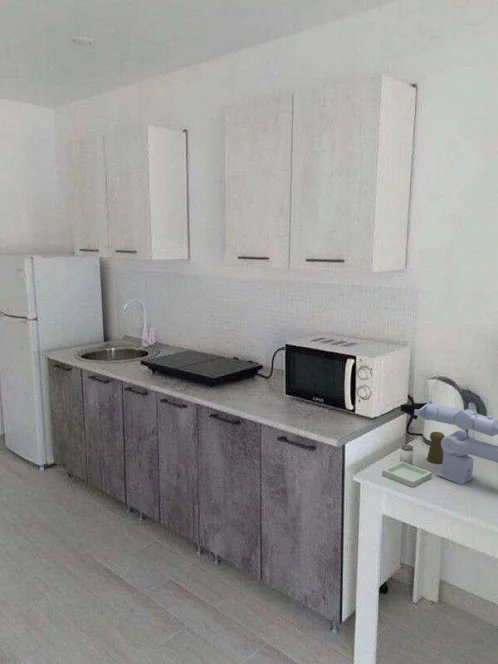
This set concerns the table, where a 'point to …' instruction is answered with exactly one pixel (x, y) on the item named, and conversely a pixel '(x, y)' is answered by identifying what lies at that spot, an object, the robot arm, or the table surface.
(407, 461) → the salt shaker
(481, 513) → the table surface
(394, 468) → the tray
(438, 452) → the cork
